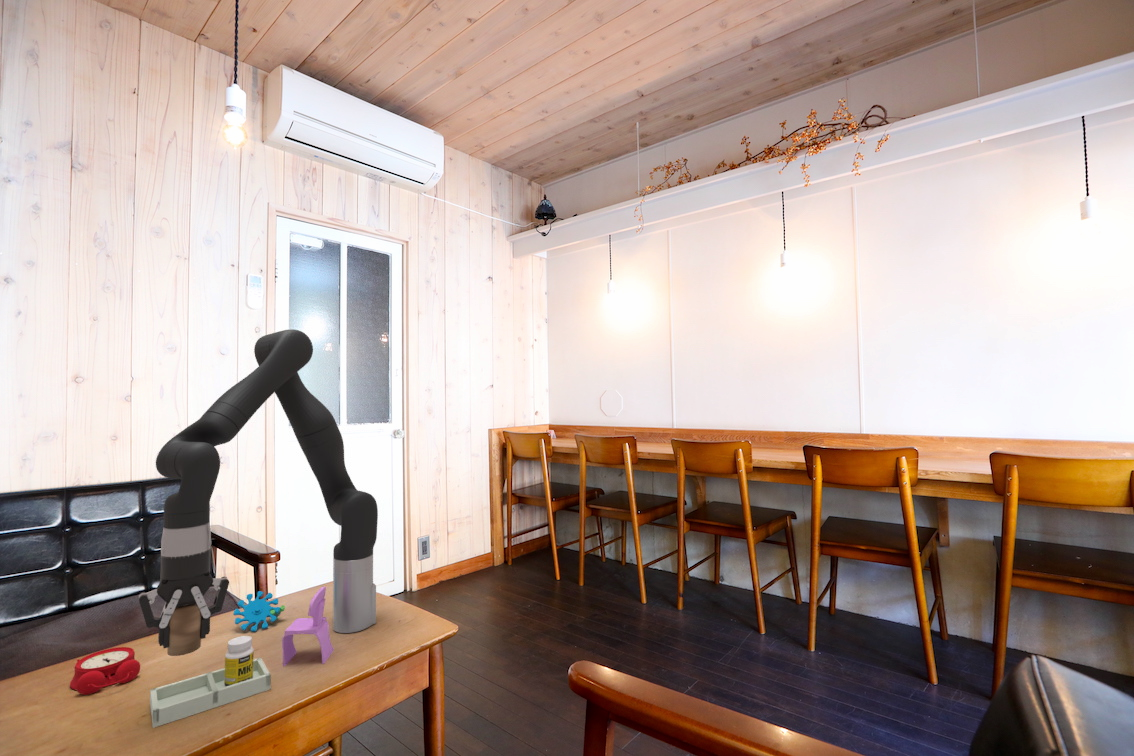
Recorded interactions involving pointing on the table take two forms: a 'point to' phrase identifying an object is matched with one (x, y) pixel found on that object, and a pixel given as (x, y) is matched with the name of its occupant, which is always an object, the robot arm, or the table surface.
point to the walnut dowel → (184, 630)
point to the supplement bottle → (239, 660)
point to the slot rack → (204, 693)
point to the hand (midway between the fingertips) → (184, 641)
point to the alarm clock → (104, 669)
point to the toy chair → (309, 629)
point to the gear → (258, 611)
